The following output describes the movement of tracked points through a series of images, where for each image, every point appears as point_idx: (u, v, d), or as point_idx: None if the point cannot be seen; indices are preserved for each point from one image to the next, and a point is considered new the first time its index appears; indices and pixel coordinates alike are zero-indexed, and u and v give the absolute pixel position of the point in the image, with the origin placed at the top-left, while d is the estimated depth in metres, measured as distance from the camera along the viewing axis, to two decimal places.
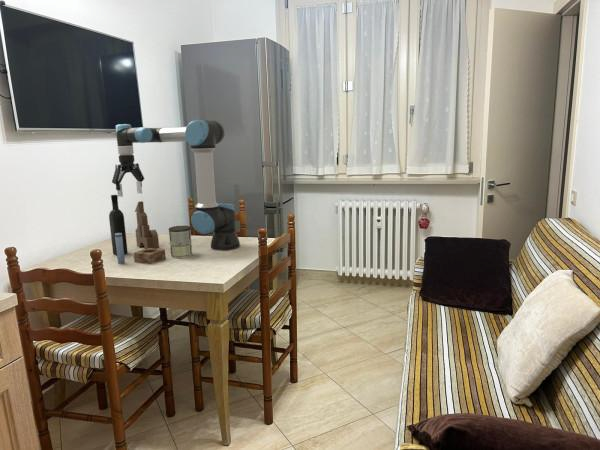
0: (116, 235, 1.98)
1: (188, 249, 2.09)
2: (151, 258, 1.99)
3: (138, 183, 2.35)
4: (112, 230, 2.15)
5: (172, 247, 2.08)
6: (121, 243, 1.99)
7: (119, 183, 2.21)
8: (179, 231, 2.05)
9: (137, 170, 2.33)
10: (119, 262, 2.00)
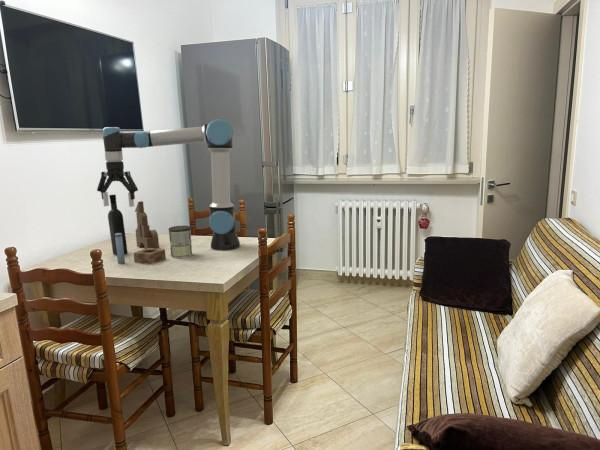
0: (116, 235, 1.98)
1: (188, 249, 2.09)
2: (151, 258, 1.99)
3: None
4: (111, 230, 2.15)
5: (172, 247, 2.08)
6: (121, 243, 1.99)
7: (101, 192, 2.04)
8: (179, 231, 2.05)
9: None
10: (119, 262, 2.00)
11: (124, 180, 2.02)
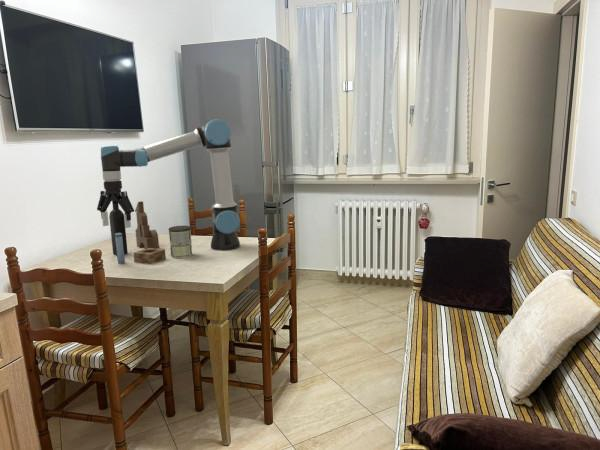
0: (116, 235, 1.98)
1: (188, 249, 2.09)
2: (151, 258, 1.99)
3: None
4: (112, 230, 2.15)
5: (172, 247, 2.08)
6: (121, 243, 1.99)
7: (100, 211, 1.99)
8: (179, 231, 2.05)
9: None
10: (119, 262, 2.00)
11: (121, 200, 1.95)
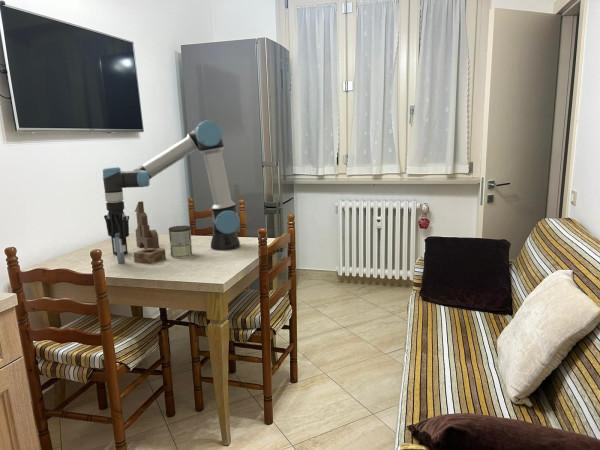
0: (116, 235, 1.98)
1: (188, 249, 2.09)
2: (151, 258, 1.99)
3: None
4: None
5: (172, 247, 2.08)
6: None
7: (112, 237, 1.99)
8: (179, 231, 2.05)
9: None
10: (119, 262, 2.00)
11: (121, 223, 1.97)
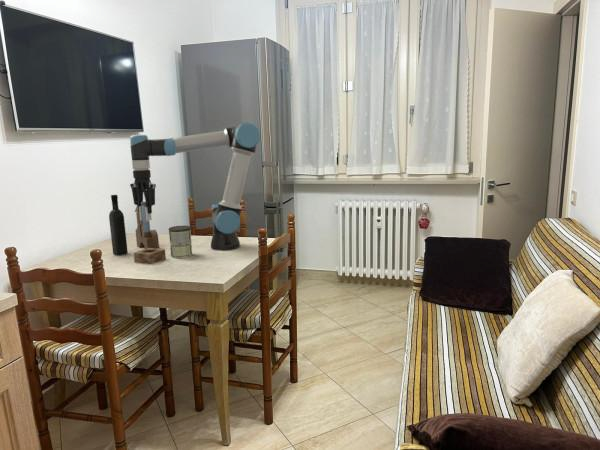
0: (142, 203, 1.99)
1: (188, 249, 2.09)
2: (151, 258, 1.99)
3: None
4: (112, 230, 2.15)
5: (172, 247, 2.08)
6: None
7: (138, 205, 2.00)
8: (179, 231, 2.05)
9: None
10: (145, 230, 2.01)
11: (147, 191, 1.98)
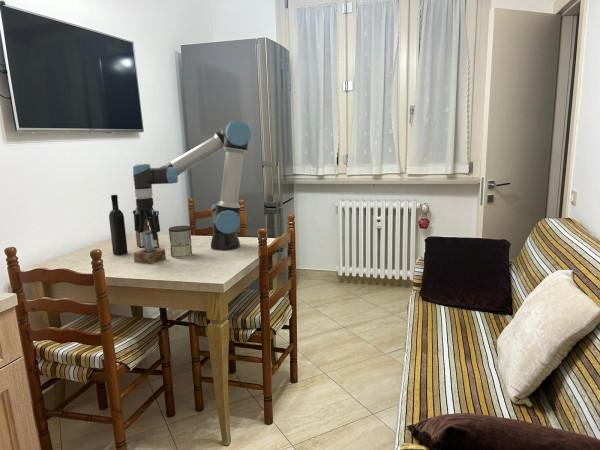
0: (146, 233, 2.01)
1: (188, 249, 2.09)
2: (151, 258, 1.99)
3: None
4: (112, 230, 2.15)
5: (172, 247, 2.08)
6: (150, 241, 2.03)
7: (139, 232, 2.03)
8: (179, 231, 2.05)
9: None
10: None
11: (151, 219, 2.00)
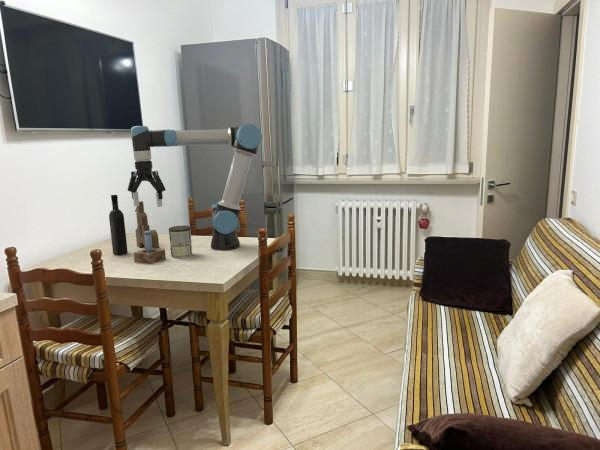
0: (145, 233, 2.01)
1: (188, 249, 2.09)
2: (151, 258, 1.99)
3: None
4: (112, 230, 2.15)
5: (172, 247, 2.08)
6: (150, 241, 2.03)
7: (131, 191, 2.03)
8: (179, 231, 2.05)
9: None
10: None
11: (152, 180, 1.99)
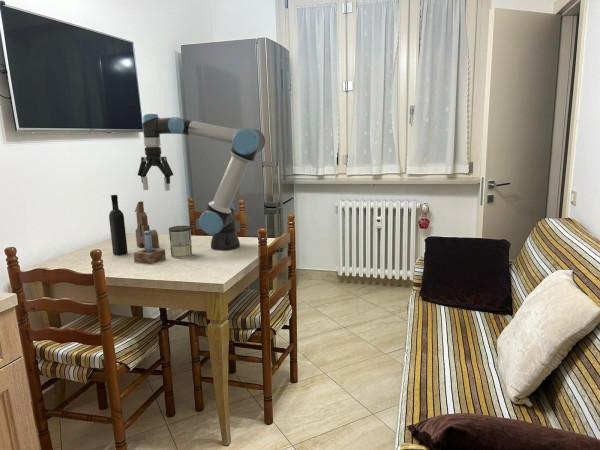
0: (145, 233, 2.01)
1: (188, 249, 2.09)
2: (151, 258, 1.99)
3: None
4: (112, 230, 2.15)
5: (172, 247, 2.08)
6: (150, 241, 2.03)
7: (141, 176, 2.14)
8: (179, 231, 2.05)
9: None
10: None
11: (161, 165, 2.10)
